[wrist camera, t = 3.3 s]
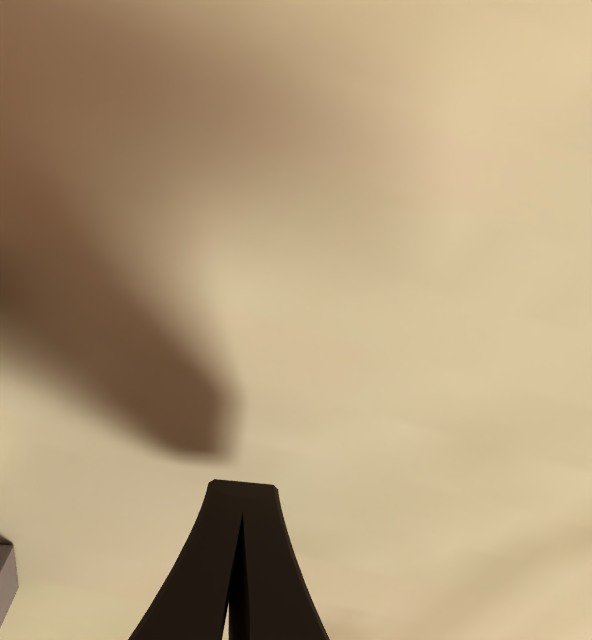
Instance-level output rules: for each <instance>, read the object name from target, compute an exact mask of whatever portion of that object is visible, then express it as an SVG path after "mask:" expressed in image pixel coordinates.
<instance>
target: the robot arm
mask: <svg viewBox="0 0 592 640" xmlns="http://www.w3.org/2000/svg"><path fill="white" fill-rule="evenodd" d="M228 603H229V640H330V639H329V637H328V635H327V633H326V631H325V629H324V626H323V624H322V622H321V620H320V617H319V615H318V613H317V610H316V608H315V606H314V604H313V601H312V599H311V596H310V594H309V591H308V589H307V587H306V584H305V581H304V579H303V576H302V573H301V570H300V568H299V565H298V562H297V560H296V557H295V554H294V551H293V548H292V545H291V542H290V538H289V535H288V532H287V528H286V525H285V521H284V517H283V513H282V509H281V504H280V500H279V494H278V489H277V488H276V487H275V486H274V485H269V484H259V483H248V482H238V481H228V480H217V479H214V480H213V481H211V482H209V483H208V487H207V492H206V495H205V498H204V501H203V504H202V507H201V509H200V512H199V514H198V517H197V519H196V521H195V524H194V526H193V528H192V530H191V533H190V535H189V537H188V539H187V541H186V543H185V545H184V547H183V548H182V550H181V552H180V554H179V556H178V558H177V560H176V562H175V564H174V566H173V568H172V570H171V571H170V573H169V575H168V577H167V578H166V580H165V582H164V583H163V585H162V587H161V588H160V590H159V592H158V593H157V595H156V597H155V599H154V600H153V602H152V604H151V605H150V607H149V609H148V610H147V612H146V613H145V615H144V616H143V618H142V619H141V621H140V623H139V624H138V626H137V627H136V629H135V630H134V632H133V633H132V635H131V636H130V638H129V639H128V640H222V636H223V630H224V625H225V619H226V614H227V608H228Z"/></svg>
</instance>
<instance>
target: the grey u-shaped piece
mask: <svg viewBox="0 0 592 640" xmlns="http://www.w3.org/2000/svg"><path fill="white" fill-rule="evenodd" d="M18 588H19V587H18V579H17V570H16V562H15V554H14V546H11V545H0V627H1V625H2V623H3V621H4V618H5V616H6V614H7V612H8V610H9V607H10V605H11V603H12V601H13V599H14V596H15V594H16V592H17V590H18Z"/></svg>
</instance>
